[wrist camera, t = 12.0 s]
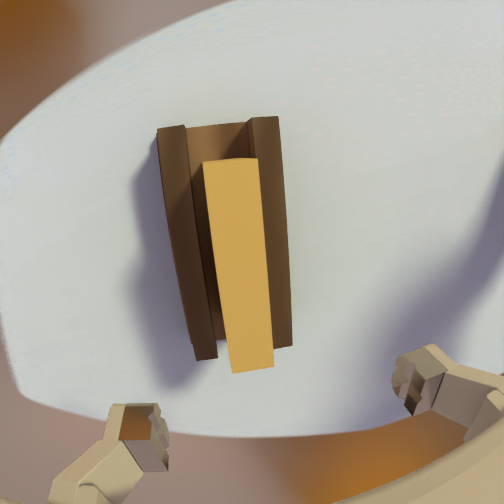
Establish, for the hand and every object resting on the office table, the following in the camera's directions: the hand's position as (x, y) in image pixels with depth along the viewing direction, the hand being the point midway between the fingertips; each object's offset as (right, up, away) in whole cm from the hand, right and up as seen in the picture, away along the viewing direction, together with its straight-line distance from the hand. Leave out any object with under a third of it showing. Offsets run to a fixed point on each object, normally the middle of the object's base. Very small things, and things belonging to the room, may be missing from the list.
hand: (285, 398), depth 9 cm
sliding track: (-3, +6, +19) cm, 20 cm away
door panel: (-3, +6, +18) cm, 19 cm away
